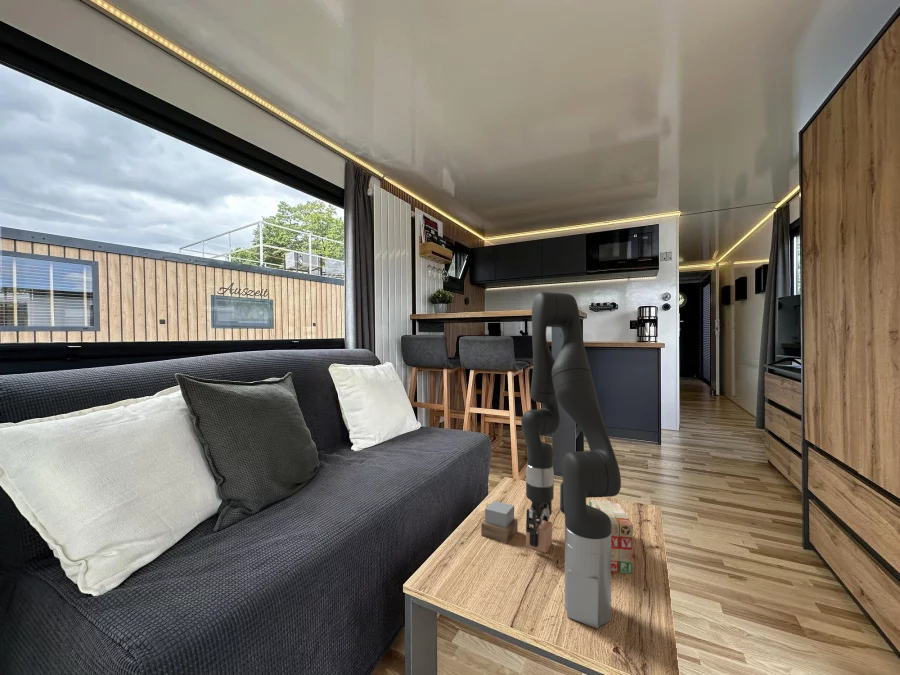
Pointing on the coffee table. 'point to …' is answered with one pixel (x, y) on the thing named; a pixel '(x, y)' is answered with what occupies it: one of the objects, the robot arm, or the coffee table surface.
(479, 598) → the coffee table surface
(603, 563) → the robot arm
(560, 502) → the supplement bottle
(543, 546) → the terracotta block
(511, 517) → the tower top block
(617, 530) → the stack of blocks
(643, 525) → the coffee table surface
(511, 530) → the tower base block
